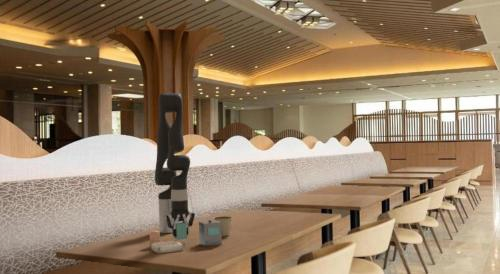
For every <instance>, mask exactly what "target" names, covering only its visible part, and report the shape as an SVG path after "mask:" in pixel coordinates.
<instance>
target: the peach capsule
mask: <svg viewBox="0 0 500 274" xmlns="http://www.w3.org/2000/svg"><path fill="white" fill-rule="evenodd" d="M160 237H161V233H160V231H159V230H157V229H156V230H153V229H152V230H150V231H149V248H151V243H158V242H161V238H160Z"/></svg>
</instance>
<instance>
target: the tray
mask: <svg viewBox="0 0 500 274" xmlns="http://www.w3.org/2000/svg"><path fill="white" fill-rule="evenodd" d="M151 250H152V251H154V252H155V253H156V254H165V253H173V252H181V251H184V243H181V242H179V241H177V239H175V240H168V241H160V242H158V243H151Z"/></svg>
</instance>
